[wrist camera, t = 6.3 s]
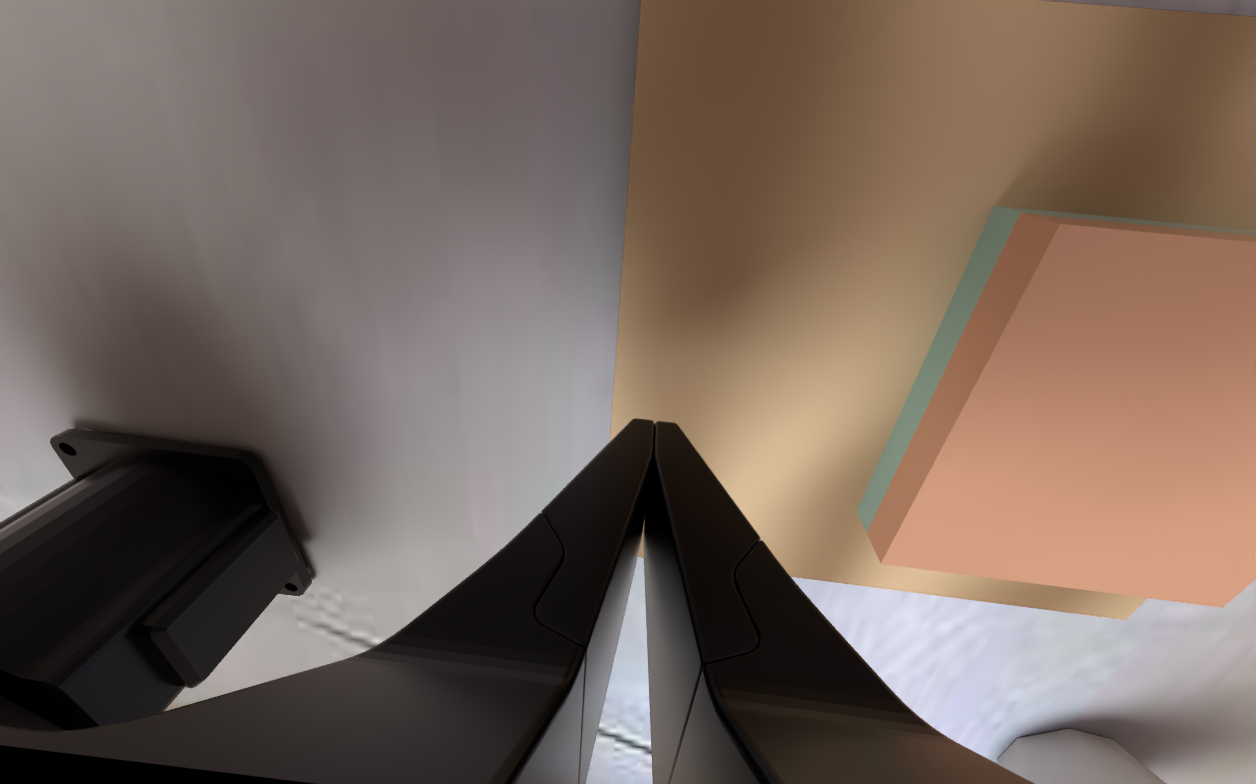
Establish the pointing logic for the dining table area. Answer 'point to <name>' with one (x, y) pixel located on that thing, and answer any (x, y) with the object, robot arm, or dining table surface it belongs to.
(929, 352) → the tile
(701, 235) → the cork mat
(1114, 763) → the salt shaker
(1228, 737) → the dining table surface
